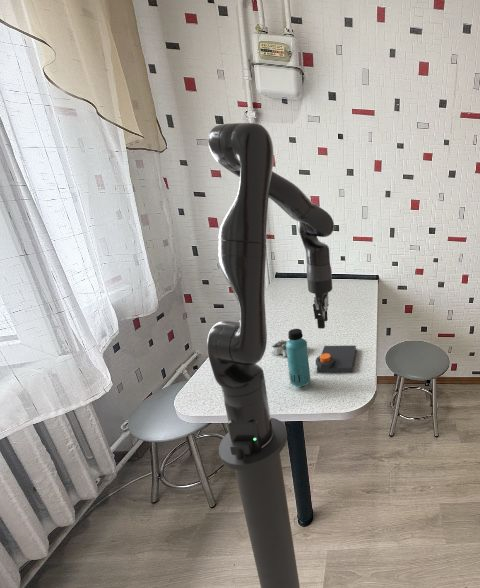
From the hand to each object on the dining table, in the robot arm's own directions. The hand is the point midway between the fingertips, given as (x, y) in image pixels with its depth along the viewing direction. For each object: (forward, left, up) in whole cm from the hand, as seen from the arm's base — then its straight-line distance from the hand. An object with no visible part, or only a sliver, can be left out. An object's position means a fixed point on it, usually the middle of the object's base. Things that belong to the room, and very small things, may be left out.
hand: (322, 324), depth 111 cm
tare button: (0, 0, -14) cm, 14 cm away
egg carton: (+10, +16, -18) cm, 26 cm away
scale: (+4, -3, -17) cm, 18 cm away
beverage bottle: (-10, +7, -18) cm, 21 cm away
